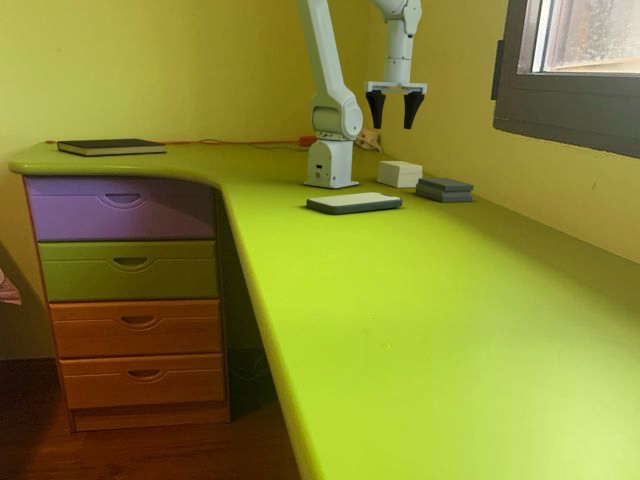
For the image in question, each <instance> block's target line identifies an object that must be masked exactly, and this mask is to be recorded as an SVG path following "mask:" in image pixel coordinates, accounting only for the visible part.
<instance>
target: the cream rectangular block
mask: <svg viewBox="0 0 640 480" xmlns="http://www.w3.org/2000/svg"><path fill="white" fill-rule="evenodd" d="M419 178H423V172H422V173H404V174H399V173H396V172H392V171H388V170H385V169H381V168H379V167H378V168H377V175H376V181H377V182H378V183H380V184H383V185H388V186H391V187H393V188H397V189H399V188H400V189H401V188H416V184H417V183H418V179H419Z"/></svg>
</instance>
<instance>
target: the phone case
mask: <svg viewBox="0 0 640 480" xmlns="http://www.w3.org/2000/svg"><path fill="white" fill-rule="evenodd" d="M403 201H404V200H403V198H401V197H397V196H394V195H389V194H385V193H380V192H362V193H360V192H359V193H351V194H342V195H340V194H339V195H333V196H332V195H331V196H321V197H312V198H308V199H306V201H305V206H306V208H309V209H312V210H315V211H319V212H321V213H325V214H329V215H341V214H351V213H359V212H367V211H375V210H385V209H396V208H400V207H401V208H402V206H403Z"/></svg>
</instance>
